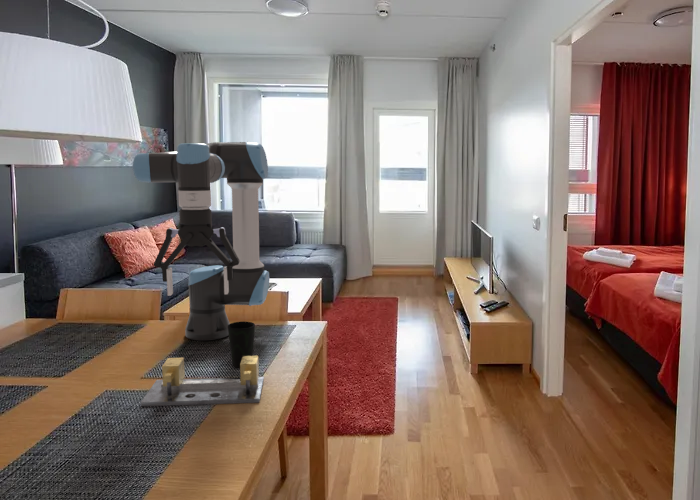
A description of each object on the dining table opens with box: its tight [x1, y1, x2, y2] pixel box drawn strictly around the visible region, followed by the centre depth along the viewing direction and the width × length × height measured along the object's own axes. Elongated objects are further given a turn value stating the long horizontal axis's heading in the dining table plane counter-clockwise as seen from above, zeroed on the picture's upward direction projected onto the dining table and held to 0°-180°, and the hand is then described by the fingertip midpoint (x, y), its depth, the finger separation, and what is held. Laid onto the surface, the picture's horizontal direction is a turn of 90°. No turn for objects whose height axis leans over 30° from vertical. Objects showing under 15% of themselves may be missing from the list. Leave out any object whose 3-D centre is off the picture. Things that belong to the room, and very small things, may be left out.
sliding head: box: [161, 357, 186, 396], centre depth 136 cm, size 10×4×7 cm, turn 5°
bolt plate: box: [140, 376, 265, 407], centre depth 138 cm, size 14×28×1 cm, turn 95°
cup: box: [228, 320, 256, 370], centre depth 157 cm, size 8×8×12 cm
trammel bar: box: [161, 355, 260, 395], centre depth 137 cm, size 10×24×7 cm, turn 95°
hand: (198, 294), depth 135 cm, fingers open, 13 cm apart
